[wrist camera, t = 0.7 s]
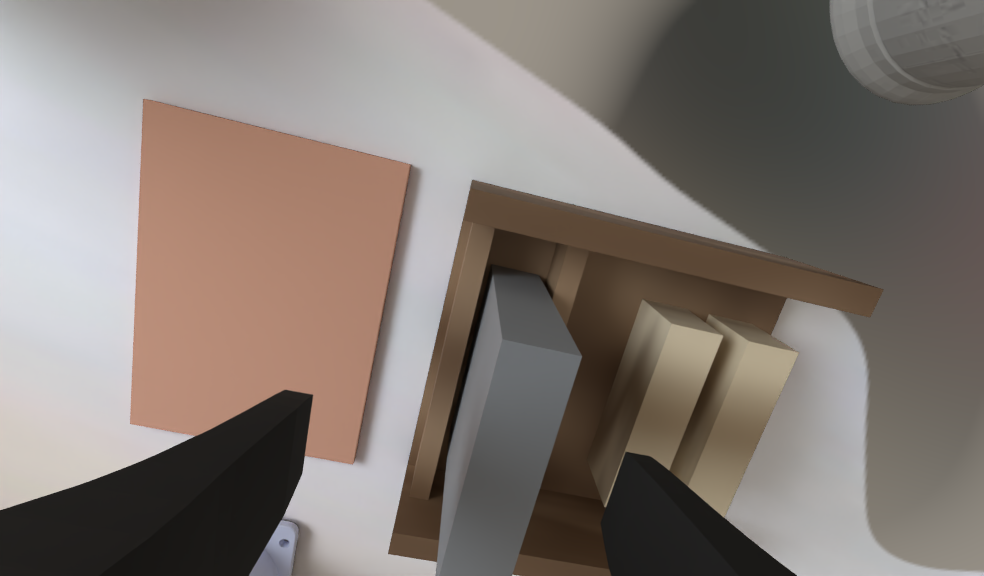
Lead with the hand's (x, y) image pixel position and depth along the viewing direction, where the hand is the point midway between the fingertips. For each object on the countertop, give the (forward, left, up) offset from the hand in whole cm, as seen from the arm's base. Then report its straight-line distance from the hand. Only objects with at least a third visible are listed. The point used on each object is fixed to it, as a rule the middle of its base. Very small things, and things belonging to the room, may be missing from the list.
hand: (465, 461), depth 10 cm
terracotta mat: (-1, +9, -10) cm, 14 cm away
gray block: (-1, -1, -9) cm, 9 cm away
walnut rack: (-1, -6, -10) cm, 12 cm away
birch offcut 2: (-1, -11, -9) cm, 14 cm away
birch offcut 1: (-1, -8, -9) cm, 12 cm away
